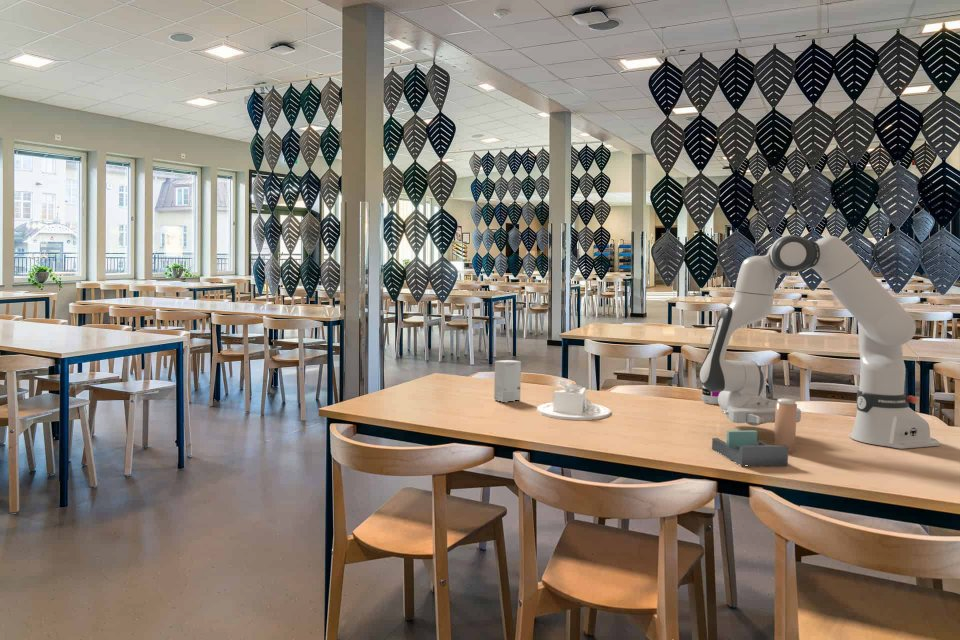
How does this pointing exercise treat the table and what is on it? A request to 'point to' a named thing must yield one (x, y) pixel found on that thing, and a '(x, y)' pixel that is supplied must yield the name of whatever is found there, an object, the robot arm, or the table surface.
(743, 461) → the grey open tray
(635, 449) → the table surface
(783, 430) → the slim pink can
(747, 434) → the block
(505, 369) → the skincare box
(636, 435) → the table surface
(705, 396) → the supplement can
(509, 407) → the table surface
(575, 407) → the dish
